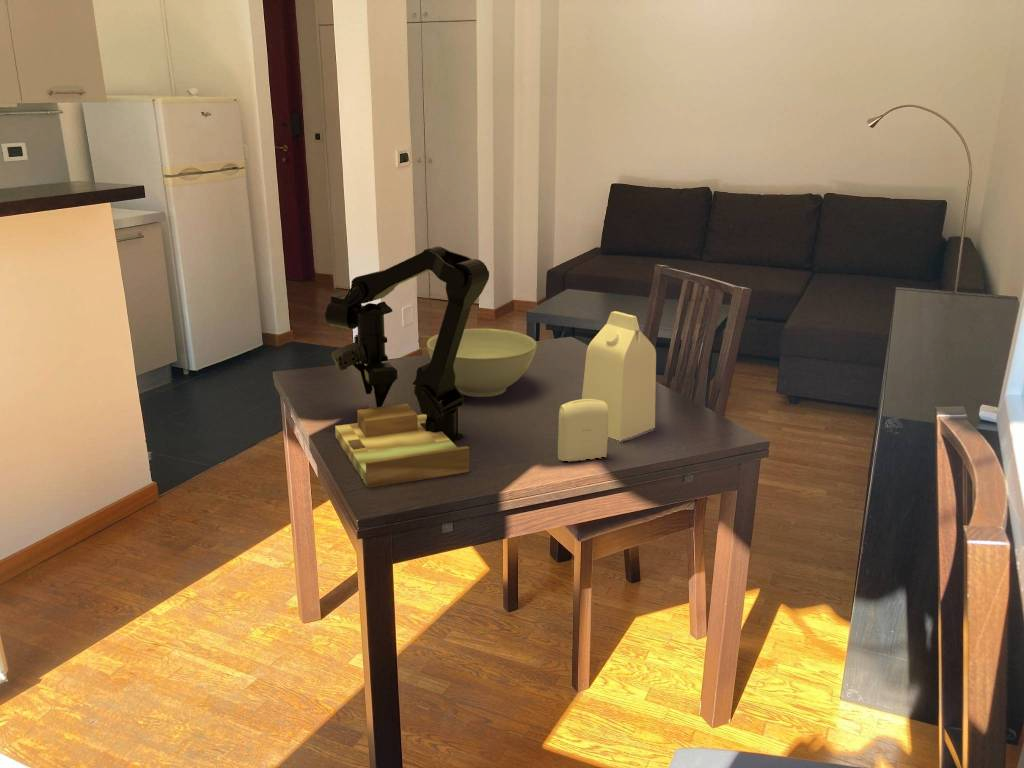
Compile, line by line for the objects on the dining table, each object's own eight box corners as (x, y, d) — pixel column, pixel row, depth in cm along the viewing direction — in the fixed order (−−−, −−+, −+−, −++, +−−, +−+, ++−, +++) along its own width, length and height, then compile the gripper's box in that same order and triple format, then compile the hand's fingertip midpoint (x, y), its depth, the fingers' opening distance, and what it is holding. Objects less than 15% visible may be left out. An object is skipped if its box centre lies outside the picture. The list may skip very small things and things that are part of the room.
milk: (654, 430, 189) (663, 315, 181) (619, 443, 182) (626, 324, 173) (614, 415, 197) (620, 305, 189) (578, 427, 190) (584, 312, 182)
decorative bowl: (535, 373, 226) (536, 329, 222) (535, 409, 201) (537, 359, 197) (433, 371, 227) (432, 327, 223) (421, 406, 201) (420, 356, 197)
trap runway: (335, 436, 182) (334, 414, 181) (425, 424, 190) (425, 403, 188) (367, 488, 159) (367, 463, 157) (469, 471, 167) (469, 447, 165)
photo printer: (560, 464, 171) (563, 405, 167) (554, 455, 175) (556, 398, 171) (609, 459, 173) (613, 401, 169) (602, 451, 177) (605, 394, 173)
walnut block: (357, 425, 182) (357, 410, 181) (407, 418, 186) (407, 403, 185) (366, 437, 176) (365, 421, 175) (417, 430, 180) (417, 414, 179)
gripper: (324, 324, 190) (328, 391, 195) (343, 346, 174) (347, 419, 179) (373, 320, 194) (376, 386, 199) (397, 341, 178) (399, 412, 183)
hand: (373, 400), depth 190 cm, fingers open, 9 cm apart
